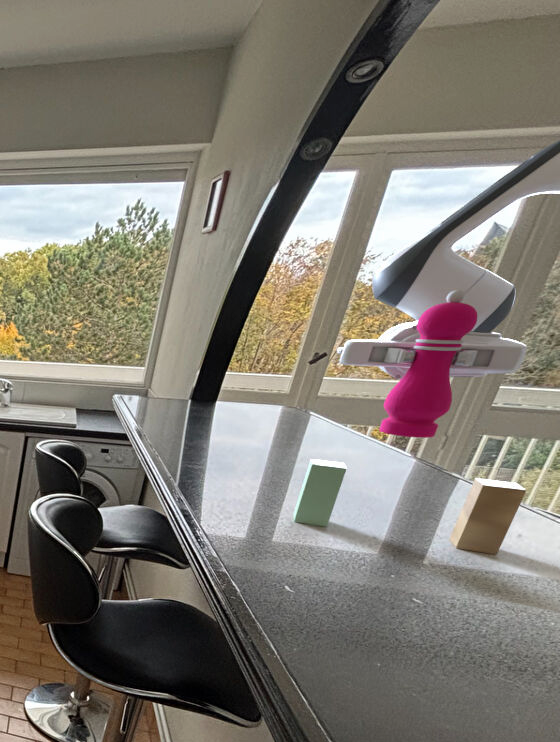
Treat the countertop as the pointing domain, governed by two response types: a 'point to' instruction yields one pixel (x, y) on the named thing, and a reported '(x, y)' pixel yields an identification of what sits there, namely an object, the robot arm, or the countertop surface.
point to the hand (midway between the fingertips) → (435, 358)
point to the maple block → (487, 515)
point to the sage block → (319, 492)
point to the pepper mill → (429, 370)
